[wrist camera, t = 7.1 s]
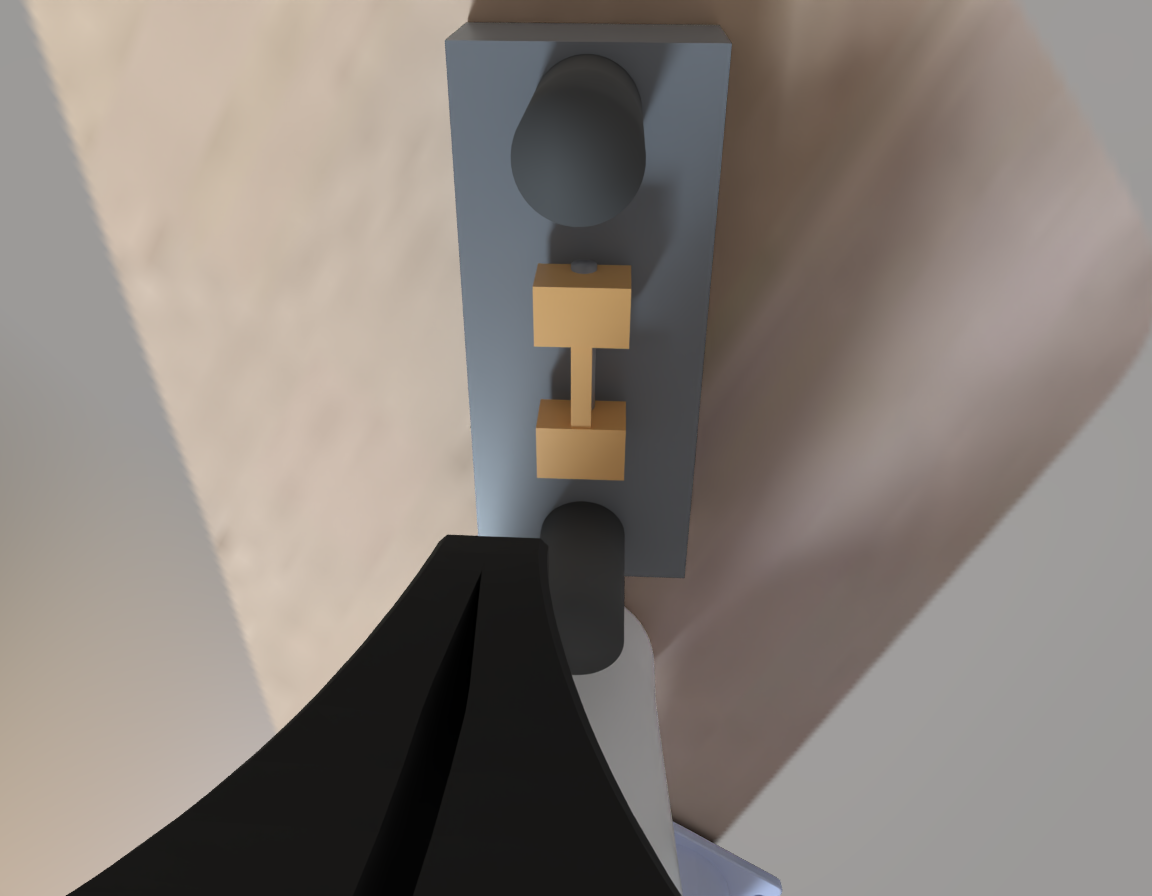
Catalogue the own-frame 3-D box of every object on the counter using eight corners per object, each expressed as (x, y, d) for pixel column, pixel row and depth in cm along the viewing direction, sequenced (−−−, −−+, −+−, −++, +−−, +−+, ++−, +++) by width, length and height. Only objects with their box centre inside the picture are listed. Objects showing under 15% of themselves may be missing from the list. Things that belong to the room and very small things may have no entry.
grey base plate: (679, 517, 24) (684, 578, 22) (493, 511, 24) (480, 570, 22) (718, 25, 18) (732, 43, 15) (466, 22, 18) (444, 40, 16)
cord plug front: (644, 165, 17) (648, 222, 14) (537, 173, 17) (518, 230, 14) (640, 50, 16) (643, 83, 13) (526, 57, 16) (502, 93, 13)
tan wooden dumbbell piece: (623, 453, 20) (623, 484, 19) (541, 451, 20) (537, 481, 19) (631, 260, 17) (631, 283, 16) (537, 258, 17) (532, 281, 16)
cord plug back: (623, 569, 22) (622, 676, 19) (541, 566, 22) (527, 673, 19) (626, 502, 21) (625, 605, 18) (540, 499, 21) (525, 601, 18)
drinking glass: (620, 523, 24) (614, 1227, 11) (711, 686, 27) (785, 1382, 15) (407, 598, 26) (198, 1278, 13) (515, 743, 29) (429, 1406, 16)
